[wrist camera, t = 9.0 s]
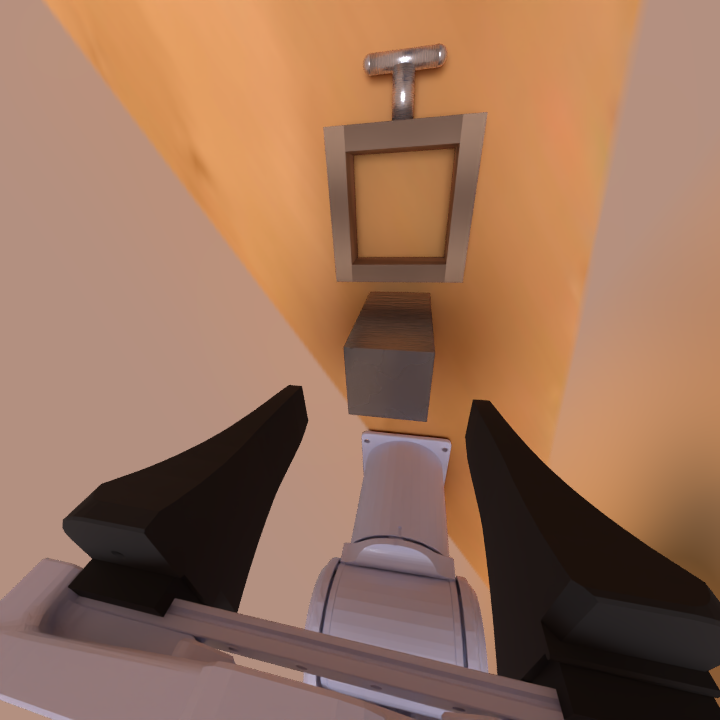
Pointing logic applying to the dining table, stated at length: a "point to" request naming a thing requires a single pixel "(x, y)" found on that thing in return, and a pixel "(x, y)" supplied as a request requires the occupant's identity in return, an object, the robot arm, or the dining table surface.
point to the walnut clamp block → (404, 137)
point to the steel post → (391, 357)
